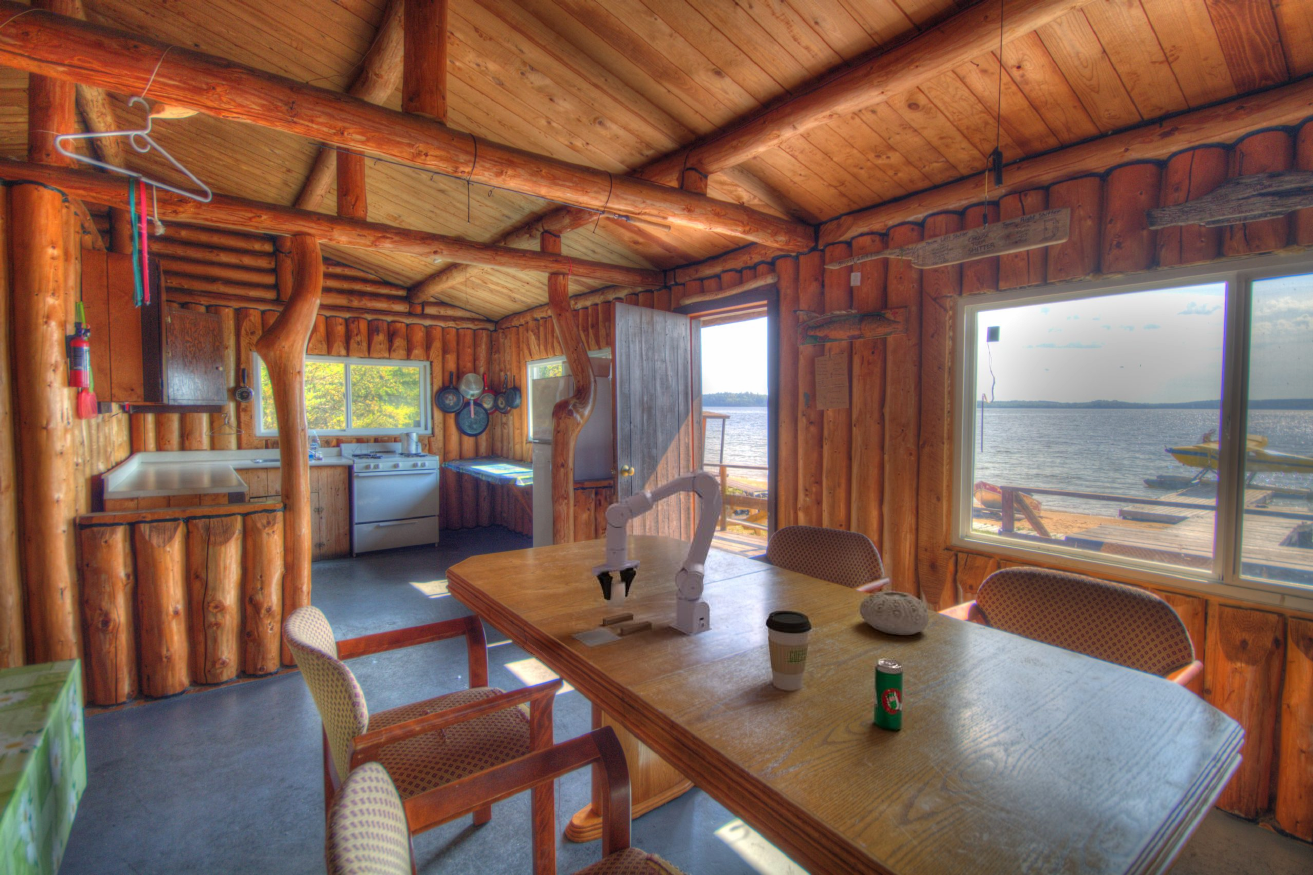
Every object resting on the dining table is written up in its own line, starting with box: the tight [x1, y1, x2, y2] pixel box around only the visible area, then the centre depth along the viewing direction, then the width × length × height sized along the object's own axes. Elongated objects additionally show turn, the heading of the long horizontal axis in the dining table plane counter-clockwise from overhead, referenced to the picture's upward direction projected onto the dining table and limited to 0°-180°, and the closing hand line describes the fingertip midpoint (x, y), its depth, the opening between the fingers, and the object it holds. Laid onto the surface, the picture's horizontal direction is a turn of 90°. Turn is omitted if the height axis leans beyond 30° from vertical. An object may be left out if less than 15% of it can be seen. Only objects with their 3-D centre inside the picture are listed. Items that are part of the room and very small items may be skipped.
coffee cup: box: [765, 610, 812, 692], centre depth 130 cm, size 10×10×15 cm
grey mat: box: [570, 627, 623, 648], centre depth 157 cm, size 10×10×1 cm
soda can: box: [873, 658, 904, 732], centre depth 113 cm, size 5×5×12 cm
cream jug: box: [606, 579, 626, 608], centre depth 163 cm, size 7×5×6 cm
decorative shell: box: [859, 590, 929, 636], centre depth 166 cm, size 18×18×10 cm
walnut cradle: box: [602, 612, 653, 637], centre depth 165 cm, size 11×9×2 cm
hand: (615, 597), depth 162 cm, fingers closed on cream jug, 5 cm apart
